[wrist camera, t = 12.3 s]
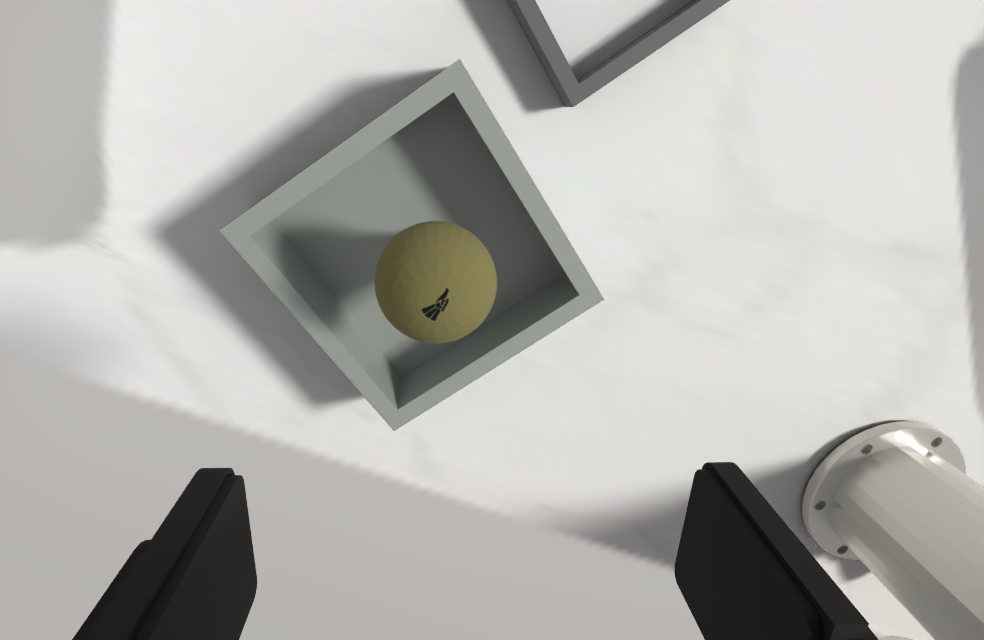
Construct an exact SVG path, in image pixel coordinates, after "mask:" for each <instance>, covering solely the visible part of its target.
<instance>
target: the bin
mask: <svg viewBox="0 0 984 640" xmlns="http://www.w3.org/2000/svg"><path fill="white" fill-rule="evenodd" d="M429 221H442V222H448V223H453V224H455V225H458V226H461V227H463V228H464V229H466V230H468V231H470V232H471V233H473V234H474V235H475V236H476V237H477V238H478V239H479V240H480V241H481V242H482V243H483V245H484V246H485V247H486V249H487V250H488V251H489V253H490V256H491V258H492V260H493V262H494V266H495V270H496V274H497V291H496V296H495V300H494V303H493V306H492V308H491V310H490V312H489V314H488V315H487V317H486V318H485V320H484V321H483V322H482V323H481V324H480V325H479V326H478V327H477V328H476V329H475V330H474V331H472V332H471V333H469V334H468V335H467V336H465V337H463V338H460V339H458V340H456V341H452V342H448V343H439V344H432V343H424V342H420V341H417V340H414V339H412V338H410V337H408V336H406V335H404V334H402V333H401V332H400V331H398V330H397V329H396V328H395V327H393V325H392V324H391V323H390V322H389V321H388V320H387V319H386V317H385V315H384V314H383V312H382V310H381V309H380V307H379V304H378V301H377V298H376V293H375V284H374V280H375V272H376V267H377V263H378V260H379V258H380V256H381V253H382V252H383V250H384V248H385V247H386V245H387V244H388V243H389V242H390V241H391V240H392V239H393V237H395V236H396V235H397V234H399V233H400V232H401V231H402V230H404V229H406V228H408V227H410V226H412V225H415V224H418V223H422V222H429ZM219 231H220V233H221V234H222V235H223V236H224V237H225V238H226V239H227V241H228V242H229V243H230V244H231V245H232V246H233V247H234V249H235V250H236V251H237V252H238V253H239V254H240V255H241V257H242V258H243V259H244V260H245V261H246V262H247V263H248V265H249V266H250V267H251V268H252V269H253V270H254V271H255V273H256V274H257V275H258V276H259V277H260V278H261V279H262V281H263V282H264V283H265V284H266V285H267V286H268V287H269V289H270V290H271V291H272V292H273V293H274V294H275V295H276V297H277V298H278V299H279V300H280V301H281V302H282V303H283V305H284V306H285V307H286V308H287V309H288V310H289V311H290V313H291V314H292V315H293V316H294V317H295V318H296V319H297V321H298V322H299V323H300V324H301V325H302V326H303V328H304V329H305V330H306V331H307V332H308V333H309V334H310V336H311V337H312V338H313V339H314V340H315V341H316V342H317V344H318V345H319V346H320V347H321V348H322V349H323V350H324V352H325V353H326V354H327V355H328V356H329V357H330V358H331V360H332V361H333V362H334V363H335V364H336V365H337V366H338V368H339V369H340V370H341V371H342V372H343V373H344V374H345V376H346V377H347V378H348V379H349V380H350V381H351V382H352V384H353V385H354V386H355V387H356V388H357V389H358V390H359V392H360V393H361V394H362V395H363V396H364V397H365V398H366V400H367V401H368V402H369V403H370V404H371V405H372V406H373V408H374V409H375V410H376V411H377V412H378V413H379V414H380V416H381V417H382V418H383V419H384V420H385V421H386V423H387V424H388V425H389V426H390V427H391V428H392V429H393V431H395V430H397V429H398V428H400V427H401V426H403V425H405V424H406V423H408V422H409V421H411V420H412V419H414V418H416V417H417V416H419V415H420V414H422V413H424V412H425V411H427V410H428V409H430V408H432V407H433V406H435V405H436V404H438V403H440V402H441V401H443V400H444V399H446V398H448V397H449V396H451V395H452V394H454V393H456V392H457V391H459V390H460V389H462V388H464V387H465V386H467V385H468V384H470V383H472V382H473V381H475V380H476V379H478V378H480V377H481V376H483V375H484V374H486V373H488V372H489V371H491V370H492V369H494V368H496V367H497V366H499V365H500V364H502V363H503V362H505V361H507V360H508V359H510V358H511V357H513V356H515V355H516V354H518V353H519V352H521V351H523V350H524V349H526V348H527V347H529V346H531V345H532V344H534V343H535V342H537V341H539V340H540V339H542V338H543V337H545V336H547V335H548V334H550V333H551V332H553V331H555V330H556V329H558V328H559V327H561V326H563V325H564V324H566V323H567V322H569V321H571V320H572V319H574V318H575V317H577V316H579V315H580V314H582V313H583V312H585V311H587V310H588V309H590V308H591V307H593V306H594V305H596V304H598V303H599V302H601V301H602V300H604V298H603V297H602V295H601V293H600V292H599V290H598V288H597V287H596V285H595V283H594V282H593V280H592V278H591V277H590V275H589V273H588V272H587V270H586V268H585V267H584V265H583V263H582V262H581V260H580V258H579V257H578V255H577V253H576V252H575V250H574V248H573V247H572V245H571V243H570V242H569V240H568V238H567V237H566V235H565V233H564V232H563V230H562V228H561V227H560V225H559V224H558V222H557V220H556V219H555V217H554V215H553V214H552V212H551V210H550V209H549V207H548V205H547V204H546V202H545V200H544V199H543V197H542V195H541V194H540V192H539V190H538V189H537V187H536V185H535V184H534V182H533V180H532V179H531V177H530V175H529V174H528V172H527V170H526V169H525V167H524V165H523V164H522V162H521V160H520V159H519V157H518V155H517V154H516V152H515V150H514V149H513V147H512V145H511V144H510V142H509V140H508V139H507V137H506V135H505V134H504V132H503V130H502V129H501V127H500V125H499V124H498V122H497V120H496V119H495V117H494V115H493V114H492V112H491V110H490V109H489V107H488V105H487V104H486V102H485V100H484V99H483V97H482V95H481V94H480V92H479V90H478V89H477V87H476V85H475V84H474V82H473V80H472V79H471V77H470V75H469V74H468V72H467V70H466V69H465V67H464V65H463V64H462V62H461V60H460V59H459V60H457V61H456V62H455V63H453V64H452V65H450V66H449V67H448V68H446V69H445V70H443V71H442V72H441V73H439V74H438V75H436V76H435V77H434V78H432V79H431V80H429V81H428V82H427V83H425V84H424V85H422V86H421V87H420V88H418V89H417V90H415V91H414V92H413V93H411V94H410V95H408V96H407V97H406V98H404V99H403V100H401V101H400V102H399V103H397V104H396V105H394V106H393V107H392V108H390V109H389V110H387V111H386V112H385V113H383V114H382V115H380V116H379V117H378V118H376V119H375V120H373V121H372V122H371V123H369V124H368V125H366V126H365V127H364V128H362V129H361V130H359V131H358V132H357V133H355V134H354V135H352V136H351V137H350V138H348V139H347V140H345V141H344V142H343V143H341V144H340V145H338V146H337V147H336V148H334V149H333V150H331V151H330V152H329V153H327V154H326V155H324V156H323V157H322V158H320V159H319V160H317V161H316V162H315V163H313V164H312V165H310V166H309V167H308V168H306V169H305V170H303V171H302V172H301V173H299V174H298V175H296V176H295V177H294V178H292V179H291V180H289V181H288V182H287V183H285V184H284V185H282V186H281V187H280V188H278V189H277V190H275V191H274V192H273V193H271V194H270V195H268V196H267V197H266V198H264V199H263V200H261V201H260V202H259V203H257V204H256V205H254V206H253V207H252V208H250V209H249V210H247V211H246V212H245V213H243V214H242V215H240V216H239V217H238V218H236V219H235V220H233V221H232V222H231V223H229V224H228V225H226V226H225V227H224V228H222V229H221V230H219Z"/></svg>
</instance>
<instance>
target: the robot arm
mask: <svg viewBox="0 0 984 640" xmlns="http://www.w3.org/2000/svg"><path fill="white" fill-rule="evenodd" d="M965 471H966V466H965V461H964V456H963V454H962V452H961V450H960V448H959V446H958V445H957V444H956V443H955V442H954V441H953V440H952V439H951V438H950V437H948V436H947V435H945V434H944V433H942V432H941V431H939V430H938V429H936V428H934V427H931V426H929V425H927V424H924V423H918V422H913V421H902V422H892V423H887V424H881V425H879V426H876V427H873V428H870V429H867V430H865V431H863V432H861V433H859V434H857V435H855V436H853V437H851V438H849V439H848V440H847V441H845V442H844V443H842V444H841V445H839V446H838V447H837V448H836V449H835V450H833V451H832V452H831V453H830V454H829V455H828V456H827V457H826V458H825V459H824V460H823V462H822V463H821V464H820V465H819V466H818V468H817V469H816V470H815V472H814V474H813V475H812V477H811V479H810V481H809V482H808V485H807V488H806V491H805V493H804V497H803V503H802V515H803V521H804V524H805V526H806V529H807V531H808V532H809V533H810V535H811V536H812V538H813V539H814V540H815V541H816V542H817V543H818V544H819V545H820V546H821V547H822V548H823V549H824V550H826V551H827V552H829V553H831V554H832V555H835V556H838V557H841V558H844V559H851V560H861V561H862V562H863V564H864V565H865V566H866V567H867V568H868V569H869V570H870V571H871V572H872V573H873V574H874V575H875V576H876V577H877V579H878V580H879V581H880V582H881V583H882V584H883V585H884V586H885V587H886V588H887V589H888V590H889V591H890V592H891V593H892V595H893V596H894V597H895V598H896V599H897V600H898V601H899V602H900V603H901V604H902V605H903V606H904V607H905V608H906V609H907V611H908V612H909V613H910V614H911V615H912V616H913V617H914V618H915V619H916V620H917V621H918V622H919V623H920V624H921V625H922V627H923V628H924V629H925V630H926V631H927V632H928V633H929V634H930V635H931V636H932V637H933V638H934V639H935V640H984V487H983V486H981V485H980V484H978V483H977V482H976V481H974V480H973V479H971V478H970V477H968V476H967V475H965ZM675 578H676V582H677V584H678V586H679V588H680V590H681V592H682V594H683V596H684V598H685V600H686V602H687V604H688V607H689V609H690V610H691V613H692V615H693V616H694V618H695V620H696V622H697V625H698V627H699V628H700V630H701V633H702V635H703V637H704V639H705V640H912V639H909V638H905V637H898V636H887V637H881V638H880V639H878V638H877V637H876V636H875V635H874V634H873V632H872V631H871V630H870V629H869V627H868V625H869V623H868V622H867V621H866V620H865V618H864V617H863V616H862V615H861V614H860V612H859V611H858V610H857V609H856V608H855V606H854V605H853V604H852V603H851V602H850V600H849V599H848V598H847V597H846V596H845V594H844V593H843V592H842V591H841V590H840V588H839V587H838V586H837V585H836V584H835V582H834V581H833V580H832V579H831V578H830V576H829V575H828V574H827V573H826V572H825V570H824V569H823V568H822V567H821V566H820V564H819V563H818V562H817V561H816V560H815V558H814V557H813V556H812V555H811V554H810V552H809V551H808V550H807V549H806V548H805V546H804V545H803V544H802V543H801V542H800V540H799V539H798V538H797V537H796V536H795V534H794V533H793V532H792V531H791V530H790V528H789V527H788V526H787V525H786V524H785V522H784V521H783V520H782V519H781V518H780V516H779V515H778V514H777V513H776V512H775V510H774V509H773V508H772V507H771V506H770V504H769V503H768V502H767V501H766V500H765V498H764V497H763V496H762V495H761V493H760V492H759V491H758V490H757V489H756V487H755V486H754V485H753V484H752V483H751V481H750V480H749V479H748V478H747V477H746V475H745V474H744V473H743V472H742V471H741V469H740V468H739V467H738V466H737V465H736V464H735V463H732V462H715V463H705V464H704V465H703V467H702V470H697V471H696V472H695V475H694V479H693V484H692V489H691V493H690V498H689V502H688V507H687V512H686V516H685V521H684V525H683V530H682V535H681V539H680V544H679V548H678V553H677V558H676V562H675ZM256 588H257V575H256V568H255V561H254V554H253V545H252V538H251V530H250V523H249V516H248V508H247V500H246V493H245V485H244V480H243V477H242V476H241V475H235V474H234V471H233V469H231V468H202V469H199V470H198V471H197V472H196V474H195V475H194V477H193V478H192V480H191V481H190V483H189V484H188V486H187V487H186V489H185V490H184V492H183V493H182V495H181V496H180V497H179V499H178V501H177V502H176V504H175V505H174V506H173V508H172V509H171V511H170V512H169V514H168V516H167V517H166V518H165V520H164V521H163V523H162V524H161V526H160V527H159V529H158V531H157V532H156V533H155V535H154V537H153V538H152V539H151V540H145V541H143V542H141V543H140V544H139V545H138V546H137V547H136V549H135V550H134V551H133V553H132V554H131V556H130V557H129V559H128V560H127V562H126V563H125V564H124V566H123V567H122V569H121V570H120V571H119V573H118V574H117V576H116V577H115V579H114V580H113V582H112V583H111V584H110V586H109V588H108V589H107V590H106V592H105V593H104V595H103V596H102V597H101V599H100V600H99V602H98V603H97V605H96V606H95V608H94V609H93V610H92V612H91V613H90V615H89V616H88V618H87V619H86V621H85V622H84V624H83V625H82V626H81V628H80V629H79V631H78V632H77V634H76V635H75V637H74V638H73V639H72V640H239V638H240V635H241V633H242V630H243V627H244V625H245V622H246V619H247V617H248V614H249V612H250V609H251V606H252V604H253V601H254V598H255V594H256Z"/></svg>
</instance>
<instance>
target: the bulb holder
mask: <svg viewBox="0 0 984 640" xmlns="http://www.w3.org/2000/svg"><path fill="white" fill-rule="evenodd" d="M507 1H508V3H509V5H510V7H511V9H512V11H513V12H514V14H515V16H516V18H517V20H518V22H519V23H520V25H521V27H522V29H523V31H524V33H525V34H526V36H527V38H528V40H529V42H530V44H531V45H532V47H533V49H534V51H535V53H536V55H537V56H538V58H539V60H540V62H541V64H542V66H543V67H544V69H545V71H546V73H547V75H548V77H549V78H550V80H551V82H552V84H553V86H554V88H555V89H556V91H557V93H558V95H559V97H560V99H561V100H562V102H563V104H564V106H565V107H574V106H575V105H577V104H578V103H580V102H581V101H583V100H584V99H586V98H587V97H589V96H590V95H592V94H593V93H595V92H596V91H598V90H599V89H600V88H602V87H603V86H605V85H606V84H608V83H609V82H611V81H612V80H614V79H615V78H617V77H618V76H620V75H621V74H622V73H624V72H625V71H627V70H628V69H630V68H631V67H633V66H634V65H636V64H637V63H639V62H640V61H642V60H643V59H645V58H646V57H647V56H649V55H650V54H652V53H653V52H655V51H656V50H658V49H659V48H661V47H662V46H664V45H665V44H667V43H668V42H669V41H671V40H672V39H674V38H675V37H677V36H678V35H680V34H681V33H683V32H684V31H686V30H687V29H689V28H690V27H691V26H693V25H694V24H696V23H697V22H699V21H700V20H702V19H703V18H705V17H706V16H708V15H709V14H711V13H712V12H714V11H715V10H716V9H718V8H719V7H721V6H722V5H724V4H725V3H727V2H728V1H730V0H694V1H692V2H691V3H689V4H688V5H686V6H685V7H683V8H682V9H680V10H679V11H678V12H676V13H675V14H673V15H672V16H670V17H669V18H667V19H666V20H664V21H663V22H662V23H660V24H659V25H657V26H656V27H654V28H653V29H651V30H650V31H648V32H647V33H646V34H644V35H643V36H641V37H640V38H638V39H637V40H635V41H634V42H632V43H631V44H630V45H628V46H627V47H625V48H624V49H622V50H621V51H619V52H618V53H616V54H615V55H614V56H612V57H611V58H609V59H608V60H606V61H605V62H603V63H602V64H600V65H599V66H598V67H596V68H595V69H593V70H592V71H590V72H589V73H587V74H586V75H584V76H583V77H581V78H580V79H579V80H577V79H576V77H575V75H574V73H573V72H572V70H571V68H570V66H569V64H568V62H567V60H566V58H565V56H564V54H563V53H562V51H561V49H560V47H559V45H558V43H557V41H556V39H555V37H554V35H553V34H552V32H551V30H550V28H549V26H548V24H547V22H546V20H545V18H544V16H543V15H542V13H541V11H540V9H539V7H538V5H537V3H536V1H535V0H507Z"/></svg>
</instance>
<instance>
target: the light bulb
mask: <svg viewBox="0 0 984 640" xmlns="http://www.w3.org/2000/svg"><path fill="white" fill-rule="evenodd" d="M374 284H375V293H376V298H377V301H378V304H379V307H380V309H381V310H382V312H383V314H384V315H385V317H386V319H387V320H388V321H389V322H390V323H391V324H392V325H393V327H395V328H396V329H397V330H398V331H400V332H401V333H402V334H404V335H406V336H408V337H410V338H412V339H414V340H417V341H420V342H424V343H432V344H439V343H448V342H452V341H456V340H458V339H460V338H463V337H465V336H467V335H468V334H469V333H471V332H472V331H474V330H475V329H476V328H477V327H478V326H479V325H480V324H481V323H482V322H483V321H484V320H485V318H486V317H487V315H488V314H489V312H490V310H491V308H492V306H493V303H494V300H495V296H496V291H497V274H496V270H495V266H494V262H493V260H492V258H491V256H490V253H489V251H488V250H487V249H486V247H485V246H484V245H483V243H482V242H481V241H480V240H479V239H478V238H477V237H476V236H475V235H474V234H473V233H471V232H470V231H468V230H466V229H464V228H463V227H461V226H458V225H455V224H453V223H448V222H442V221H429V222H422V223H418V224H415V225H412V226H410V227H408V228H406V229H404V230H402V231H401V232H400V233H399V234H397V235H396V236H395V237H393V239H392V240H391V241H390V242H389V243H388V244H387V245H386V247H385V248H384V250H383V252H382V253H381V256H380V258H379V260H378V263H377V267H376V272H375V280H374Z"/></svg>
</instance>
